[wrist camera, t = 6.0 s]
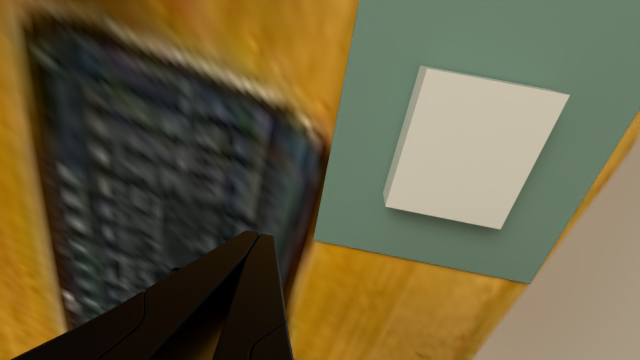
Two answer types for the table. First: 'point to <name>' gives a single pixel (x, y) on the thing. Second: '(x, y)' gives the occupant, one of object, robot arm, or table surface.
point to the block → (468, 145)
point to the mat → (491, 62)
